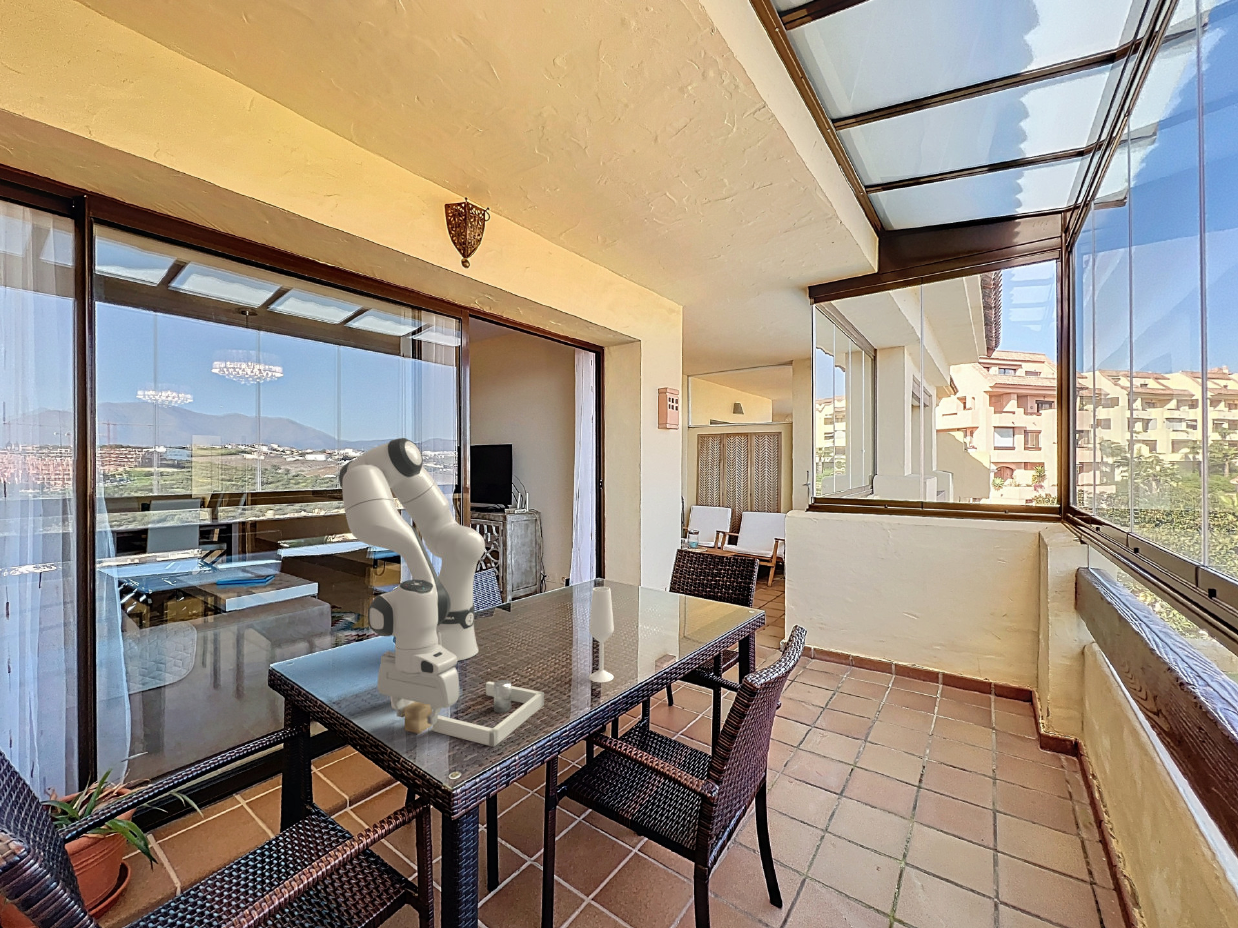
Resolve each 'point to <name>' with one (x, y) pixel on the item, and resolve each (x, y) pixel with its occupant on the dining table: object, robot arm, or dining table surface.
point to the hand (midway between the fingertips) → (417, 719)
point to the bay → (504, 728)
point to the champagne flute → (601, 627)
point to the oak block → (417, 717)
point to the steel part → (502, 696)
